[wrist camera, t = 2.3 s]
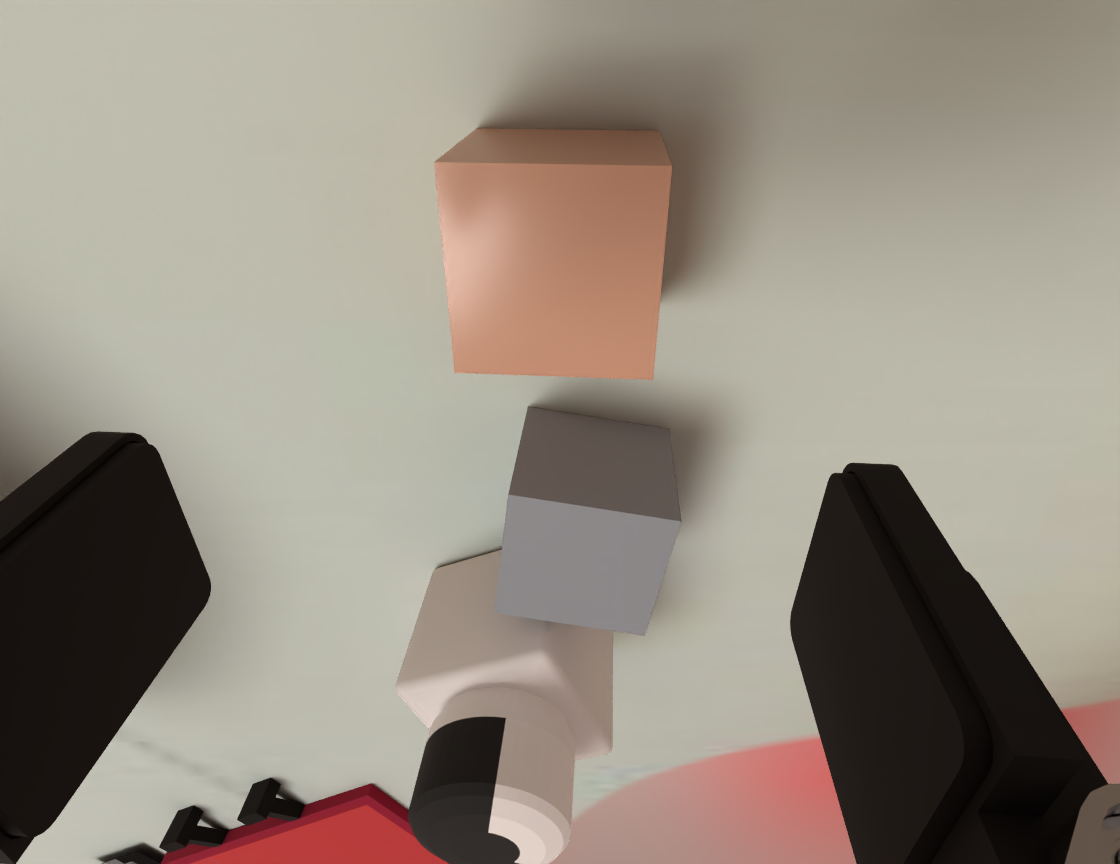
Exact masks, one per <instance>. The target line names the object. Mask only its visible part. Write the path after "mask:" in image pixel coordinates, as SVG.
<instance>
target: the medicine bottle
mask: <svg viewBox="0 0 1120 864" xmlns="http://www.w3.org/2000/svg"><path fill="white" fill-rule="evenodd" d="M501 551H502V550H498V551H495V552H492V553H488V554H485V555H481V556H478V557H474V558H471V559H467V560H464V561H461V562H457V563H454V564H450V565H447V566H443V567H440V568H437V569H435V570H434V571H433V573H432V576H431V579H430V582H429V585H428V588H427V591H426V594H425V597H424V600H423V603H422V606H421V609H420V612H419V615H418V618H417V621H416V624H415V627H414V630H413V633H412V636H411V639H410V642H409V645H408V649H407V652H406V655H405V658H404V661H403V664H402V667H401V670H400V673H399V676H398V679H397V682H396V685H395V690H396V692H397V694H398V695H399V696H400V697H401V698H402V699H403V700H404V702H405V703H406V704H407V705H408V706H409V707H410V708H411V710H412V711H413V712H414V713H415V714H416V715H417V716H418V717H419V719H420V720H421V721H422V722H423V723H424V724H425V725H426V726H427V728H428V729H429V730H430V731H429V735H428V739H427V742H426V746H425V750H424V754H423V758H422V762H421V765H420V769H419V773H418V777H417V781H416V785H415V788H414V792H413V796H412V800H411V804H410V808H409V812H408V821H409V824H410V827H411V829H412V831H413V833H414V835H415V837H416V839H417V840H418V842H419V843H420V844H421V845H422V846H423V847H424V848H425V849H426V850H428V851H429V852H431V853H432V854H433V855H435V856H437V857H439V858H440V859H442V860H444V861H446V862H447V863H449V864H548V863H550V862H551V861H553V860H554V859H555V858H556V857H557V856H558V855H559V854H560V853H561V852H562V851H563V850H564V849H565V847H566V846H567V844H568V843H569V840H570V834H571V817H572V799H573V781H574V763H575V760H580V759H585V758H591V757H596V756H602V755H606V754H608V753H610V751H611V750H612V746H613V631H610V630H603V629H596V628H590V627H583V626H577V625H570V624H564V623H557V622H551V621H544V620H538V619H531V618H524V617H518V616H511V615H505V614H498V613H494V607H495V599H496V591H497V583H498V575H499V567H500V559H501Z"/></svg>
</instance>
